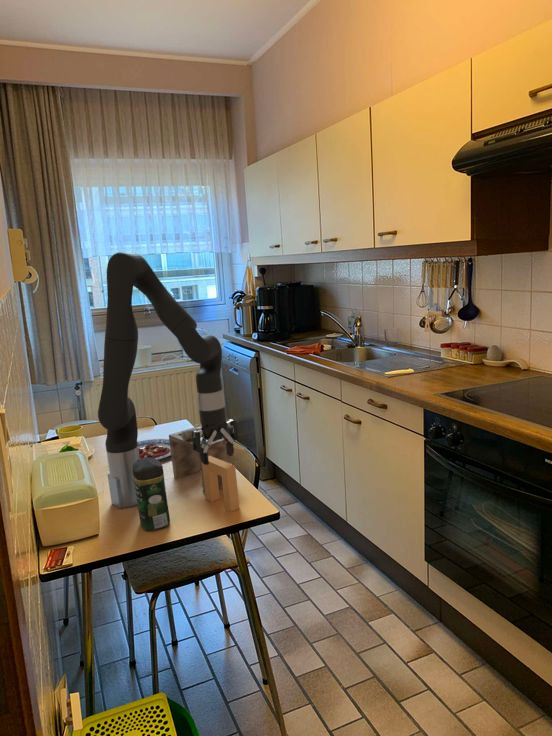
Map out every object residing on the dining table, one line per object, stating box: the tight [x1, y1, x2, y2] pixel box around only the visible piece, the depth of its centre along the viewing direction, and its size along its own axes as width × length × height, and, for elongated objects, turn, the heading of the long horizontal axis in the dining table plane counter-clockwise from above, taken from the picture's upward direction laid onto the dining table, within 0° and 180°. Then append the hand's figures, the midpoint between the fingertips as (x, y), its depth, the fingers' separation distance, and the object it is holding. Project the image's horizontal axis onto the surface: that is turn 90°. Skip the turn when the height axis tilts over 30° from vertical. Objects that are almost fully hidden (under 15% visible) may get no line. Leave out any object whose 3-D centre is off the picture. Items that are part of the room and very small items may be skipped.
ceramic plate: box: [137, 438, 171, 461], centre depth 214 cm, size 26×26×3 cm
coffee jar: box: [133, 457, 171, 531], centre depth 155 cm, size 10×8×19 cm
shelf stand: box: [168, 425, 232, 493], centre depth 183 cm, size 10×20×18 cm, turn 40°
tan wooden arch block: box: [202, 456, 240, 512], centre depth 165 cm, size 3×13×13 cm, turn 40°
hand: (218, 459), depth 164 cm, fingers open, 8 cm apart
